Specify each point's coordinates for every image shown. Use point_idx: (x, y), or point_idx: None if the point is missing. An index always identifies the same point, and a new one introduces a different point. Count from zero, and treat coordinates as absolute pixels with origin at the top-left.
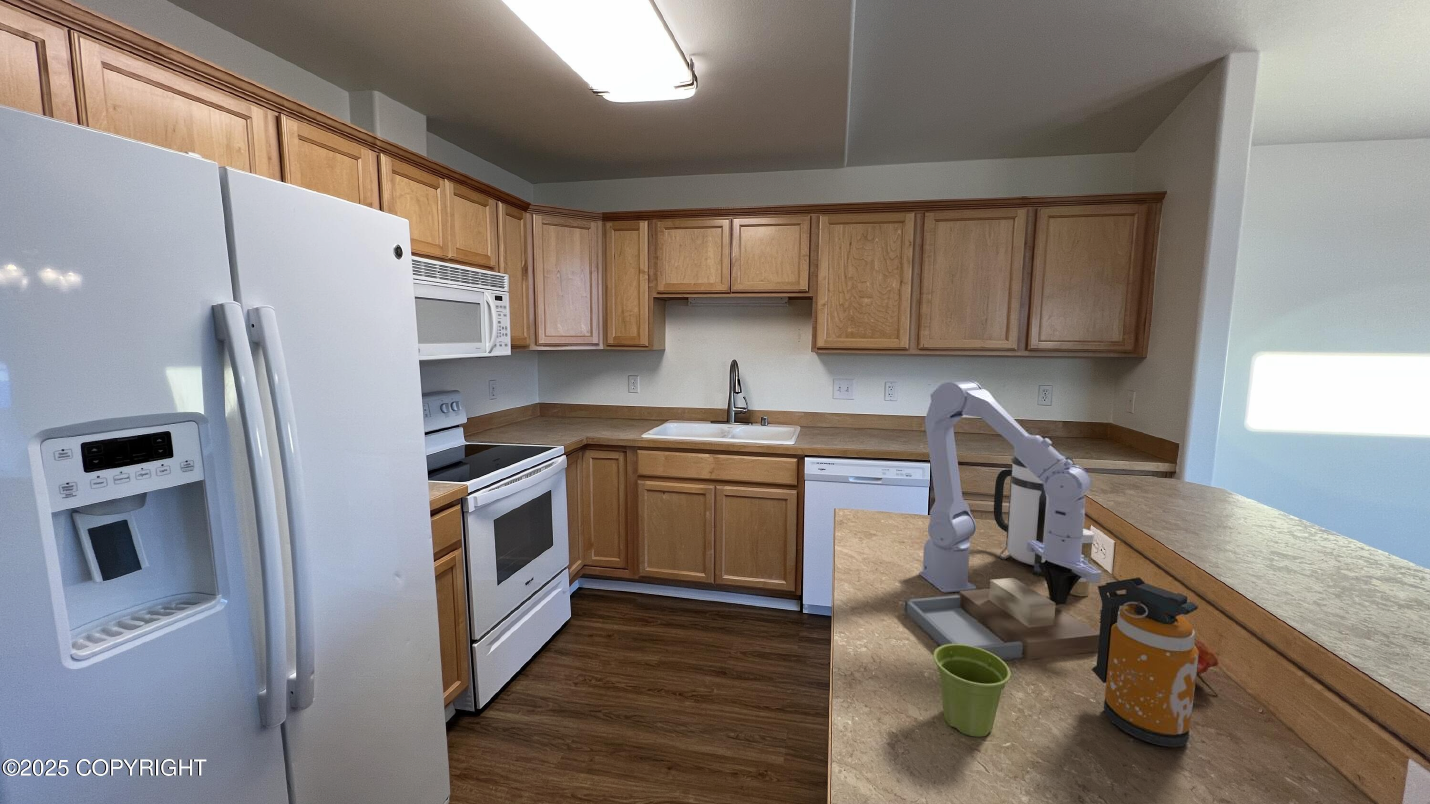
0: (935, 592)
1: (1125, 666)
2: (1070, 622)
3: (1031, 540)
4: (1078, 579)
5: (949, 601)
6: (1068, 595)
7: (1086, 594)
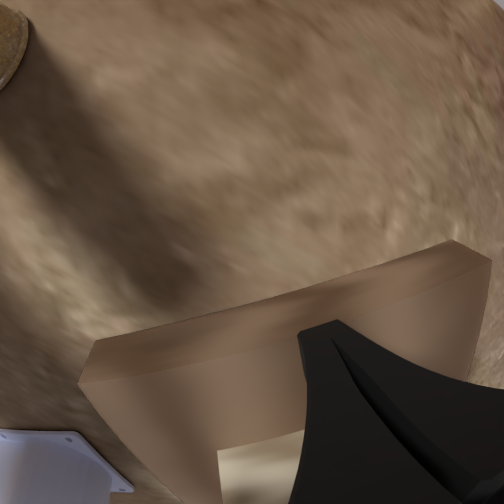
0: (135, 492)
1: None
2: (423, 329)
3: None
4: (501, 396)
5: None
6: (371, 343)
7: (24, 21)
